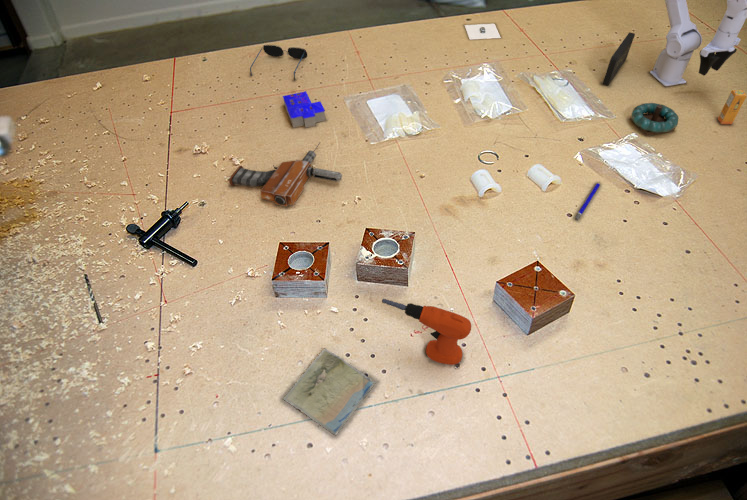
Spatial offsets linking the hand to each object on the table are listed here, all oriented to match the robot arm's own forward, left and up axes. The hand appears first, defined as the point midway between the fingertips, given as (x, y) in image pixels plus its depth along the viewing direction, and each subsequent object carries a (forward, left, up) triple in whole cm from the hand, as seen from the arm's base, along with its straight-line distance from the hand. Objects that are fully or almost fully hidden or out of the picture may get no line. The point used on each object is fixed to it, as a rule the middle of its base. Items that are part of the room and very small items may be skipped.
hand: (708, 71), depth 165 cm
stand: (+12, -24, -8) cm, 27 cm away
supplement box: (+16, -2, -8) cm, 18 cm away
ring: (+11, -24, -5) cm, 27 cm away
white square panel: (-60, -52, -8) cm, 80 cm away
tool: (+7, -134, -8) cm, 134 cm away
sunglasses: (-54, -132, -8) cm, 143 cm away
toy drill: (+71, -114, -8) cm, 134 cm away
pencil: (+38, -58, -8) cm, 70 cm away
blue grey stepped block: (-22, -127, -8) cm, 129 cm away
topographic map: (+76, -135, -8) cm, 154 cm away
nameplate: (-19, -19, -8) cm, 28 cm away
